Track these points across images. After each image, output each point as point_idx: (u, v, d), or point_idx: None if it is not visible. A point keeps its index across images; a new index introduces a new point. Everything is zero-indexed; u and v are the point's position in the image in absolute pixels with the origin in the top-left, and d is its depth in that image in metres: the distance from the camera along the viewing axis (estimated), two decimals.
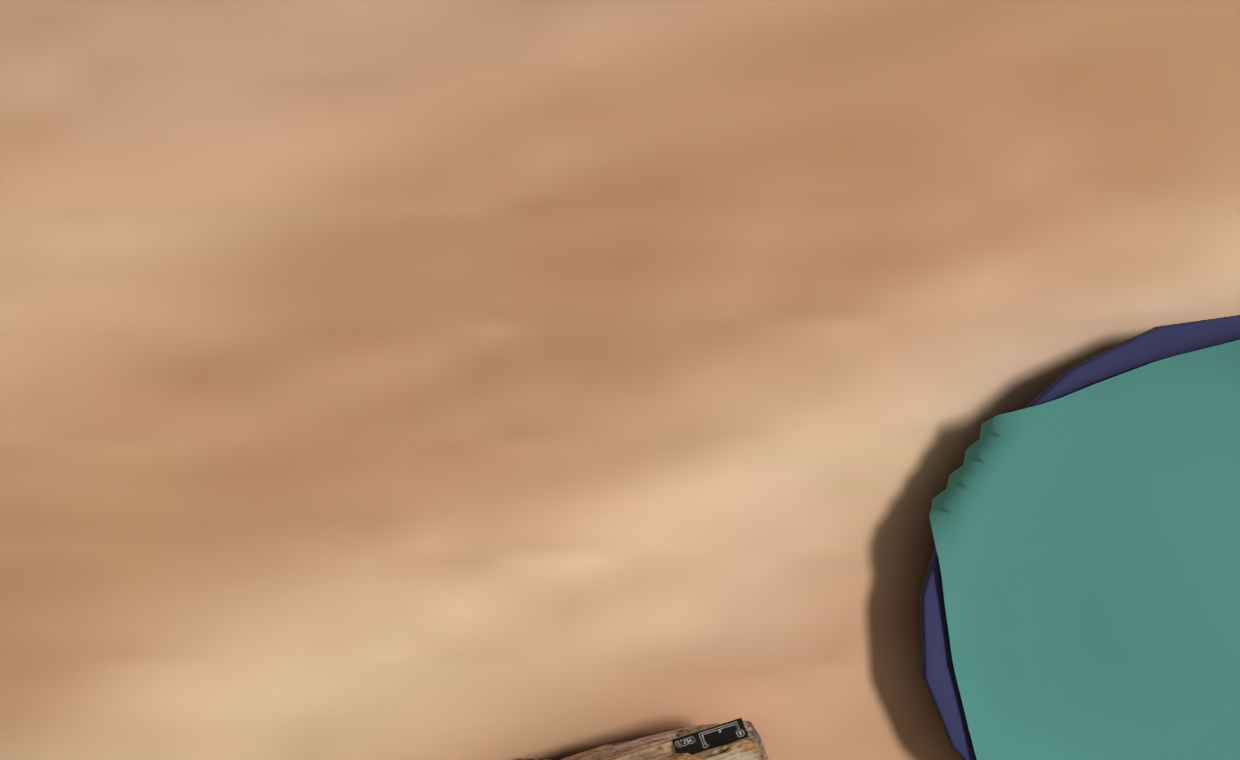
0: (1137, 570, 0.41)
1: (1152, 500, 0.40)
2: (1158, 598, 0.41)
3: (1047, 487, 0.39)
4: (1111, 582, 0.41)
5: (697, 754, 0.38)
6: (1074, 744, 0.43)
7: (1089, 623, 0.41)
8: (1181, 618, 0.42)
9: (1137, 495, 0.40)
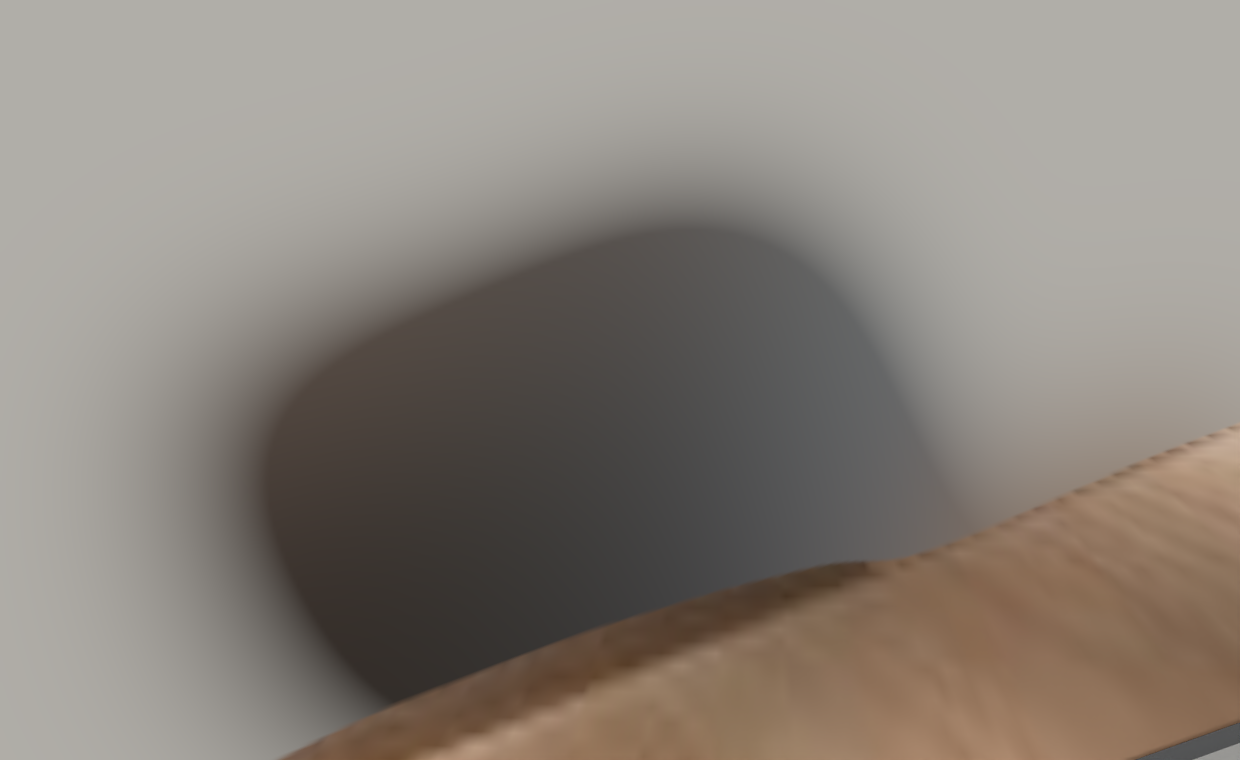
0: None
1: None
2: None
3: None
4: None
5: None
6: None
7: None
8: None
9: None
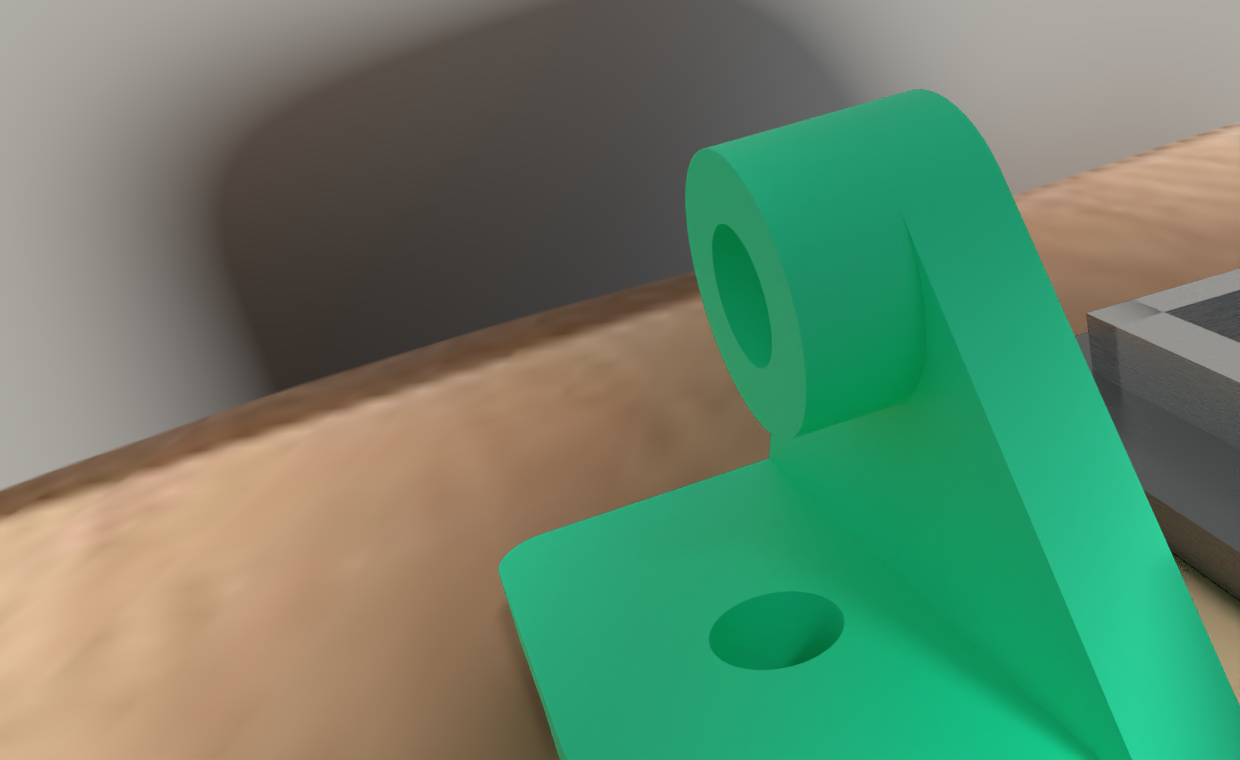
0: None
1: None
2: None
3: None
4: None
5: None
6: None
7: None
8: None
9: None
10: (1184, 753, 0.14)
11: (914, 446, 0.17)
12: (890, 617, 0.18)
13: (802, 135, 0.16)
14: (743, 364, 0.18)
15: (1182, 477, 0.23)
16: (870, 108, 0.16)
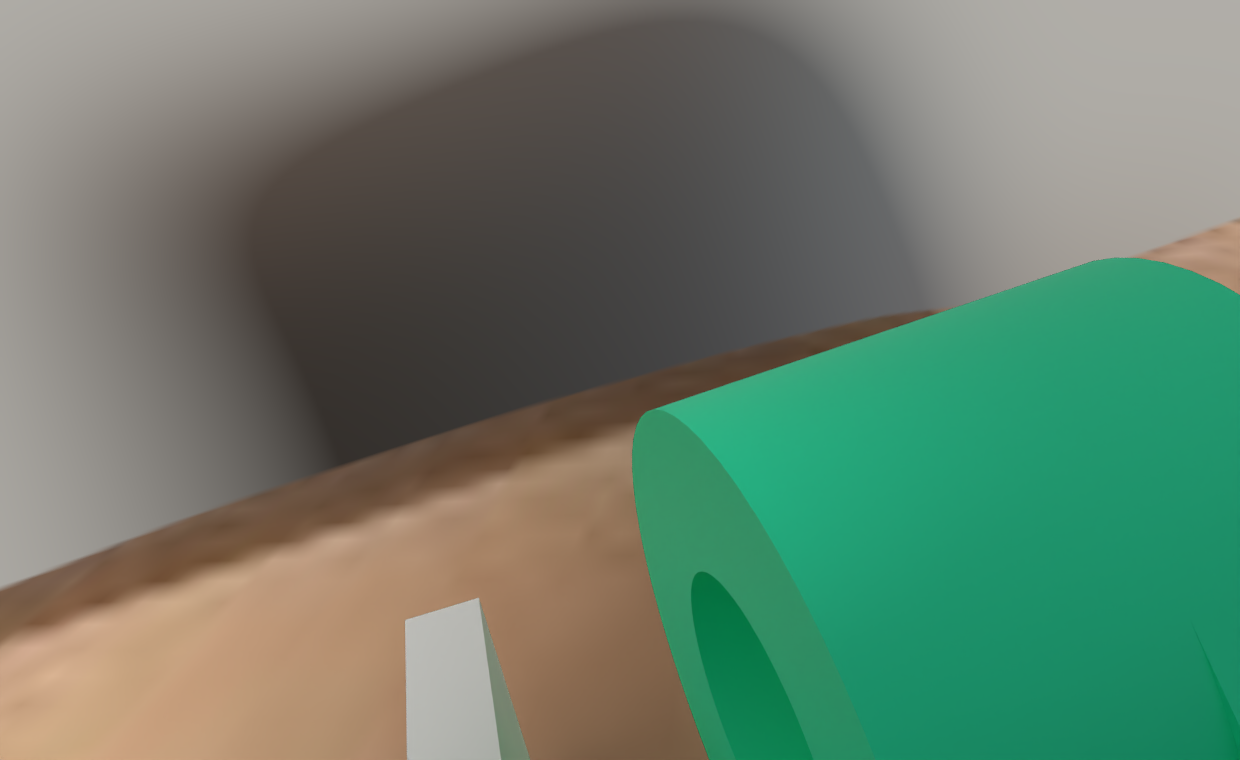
0: None
1: None
2: None
3: None
4: None
5: None
6: None
7: None
8: None
9: None
10: None
11: None
12: None
13: (913, 399, 0.07)
14: None
15: None
16: (1061, 318, 0.07)
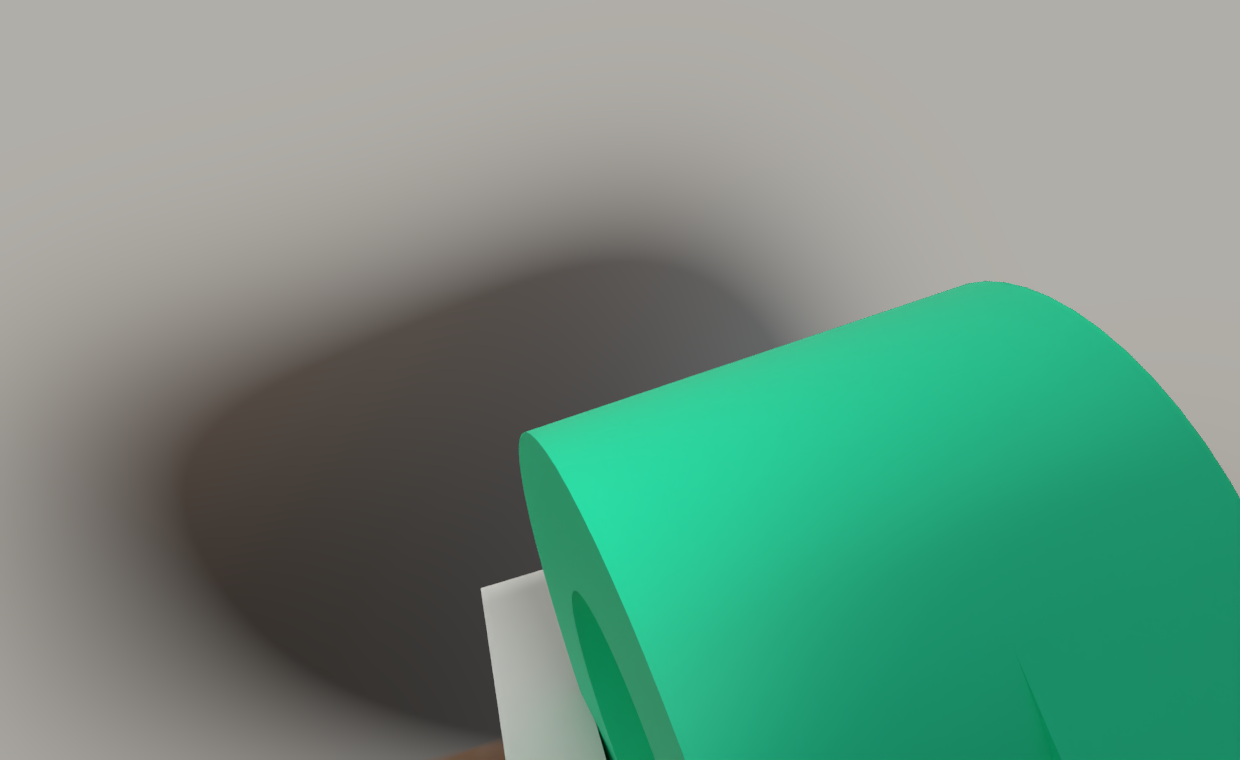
0: None
1: None
2: None
3: None
4: None
5: None
6: None
7: None
8: None
9: None
10: None
11: None
12: None
13: (761, 425, 0.07)
14: None
15: None
16: (916, 343, 0.07)
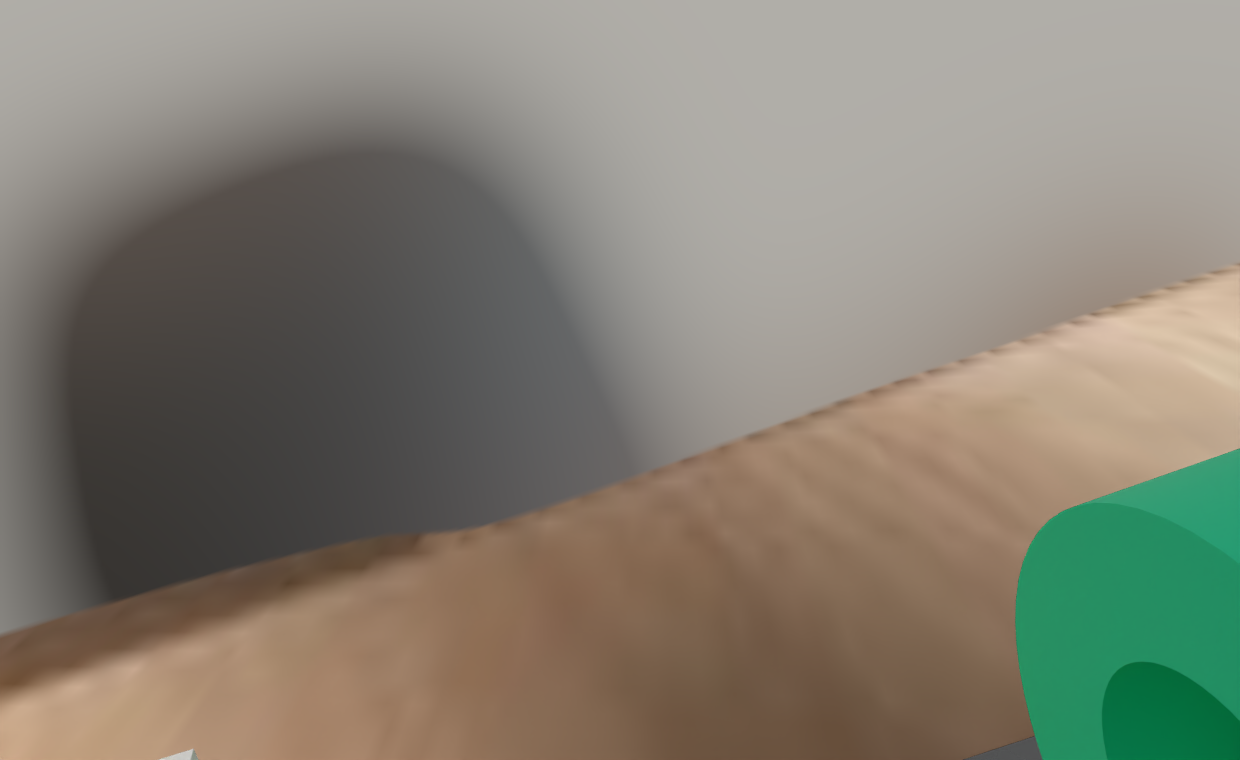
0: None
1: None
2: None
3: None
4: None
5: None
6: None
7: None
8: None
9: None
10: None
11: None
12: None
13: None
14: None
15: None
16: None
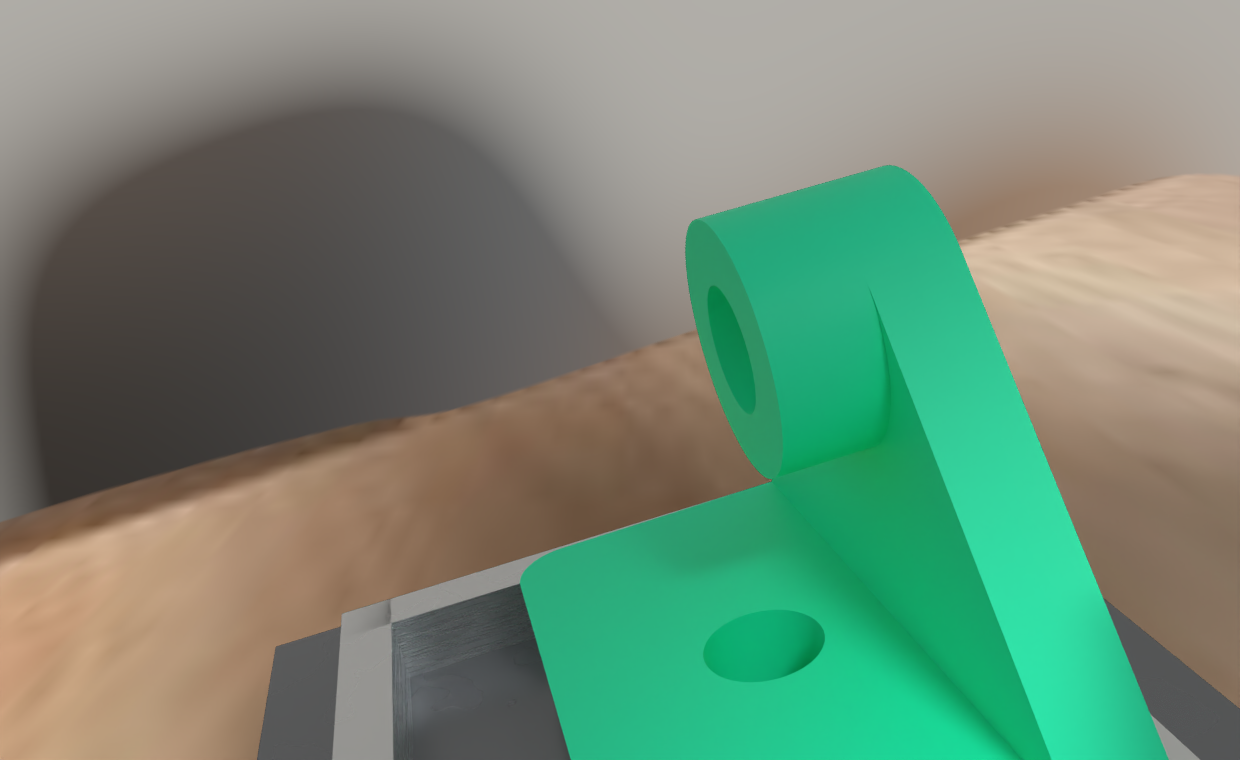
0: None
1: None
2: None
3: None
4: None
5: None
6: None
7: None
8: None
9: None
10: None
11: (885, 486, 0.19)
12: (866, 636, 0.20)
13: (784, 210, 0.18)
14: (735, 407, 0.20)
15: None
16: (847, 185, 0.18)
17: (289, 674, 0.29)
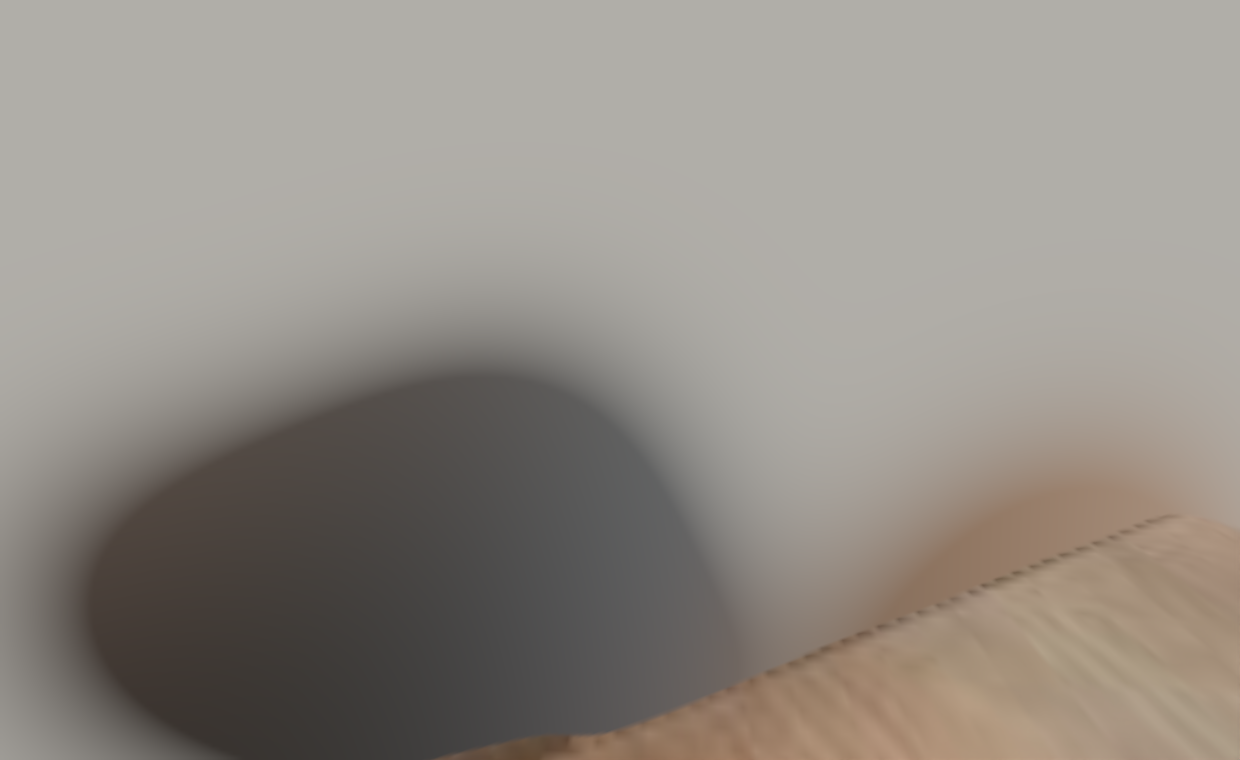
0: None
1: None
2: None
3: None
4: None
5: None
6: None
7: None
8: None
9: None
10: None
11: None
12: None
13: None
14: None
15: None
16: None
17: None
